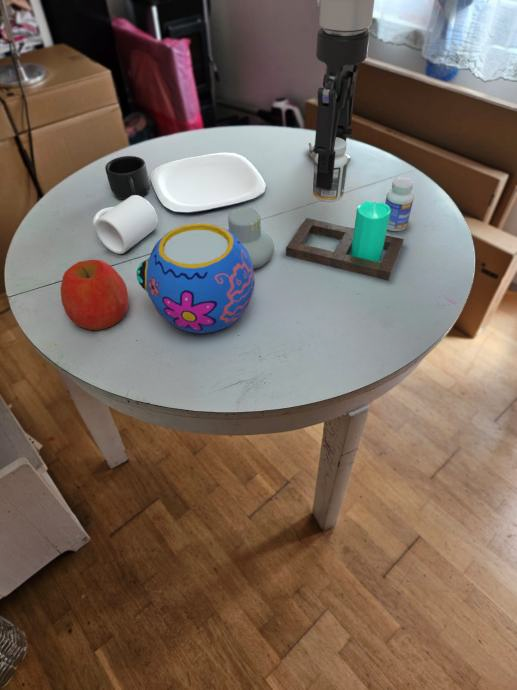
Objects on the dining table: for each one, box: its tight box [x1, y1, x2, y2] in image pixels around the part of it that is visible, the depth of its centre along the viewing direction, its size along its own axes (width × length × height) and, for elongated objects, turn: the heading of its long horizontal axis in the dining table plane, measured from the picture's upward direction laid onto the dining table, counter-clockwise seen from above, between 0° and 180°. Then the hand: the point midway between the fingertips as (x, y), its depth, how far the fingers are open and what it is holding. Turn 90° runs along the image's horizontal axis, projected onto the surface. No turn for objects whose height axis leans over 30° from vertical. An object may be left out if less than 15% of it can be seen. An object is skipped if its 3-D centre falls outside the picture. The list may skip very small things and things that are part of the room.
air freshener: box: [227, 207, 275, 270], centre depth 89 cm, size 11×8×10 cm
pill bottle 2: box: [384, 177, 415, 232], centre depth 96 cm, size 5×5×10 cm
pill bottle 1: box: [312, 137, 349, 203], centre depth 83 cm, size 6×6×10 cm
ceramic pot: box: [136, 223, 256, 334], centre depth 77 cm, size 18×18×15 cm
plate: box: [149, 152, 267, 214], centre depth 112 cm, size 25×25×2 cm
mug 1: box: [104, 155, 150, 200], centre depth 108 cm, size 12×9×7 cm
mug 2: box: [92, 195, 159, 255], centre depth 96 cm, size 12×10×8 cm
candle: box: [349, 200, 391, 262], centre depth 88 cm, size 6×6×12 cm
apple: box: [60, 258, 129, 331], centre depth 79 cm, size 11×11×11 cm
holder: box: [285, 217, 405, 281], centre depth 93 cm, size 21×11×2 cm, turn 66°
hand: (329, 179), depth 85 cm, fingers closed on pill bottle 1, 6 cm apart
